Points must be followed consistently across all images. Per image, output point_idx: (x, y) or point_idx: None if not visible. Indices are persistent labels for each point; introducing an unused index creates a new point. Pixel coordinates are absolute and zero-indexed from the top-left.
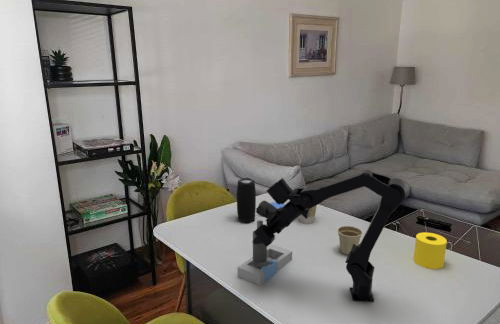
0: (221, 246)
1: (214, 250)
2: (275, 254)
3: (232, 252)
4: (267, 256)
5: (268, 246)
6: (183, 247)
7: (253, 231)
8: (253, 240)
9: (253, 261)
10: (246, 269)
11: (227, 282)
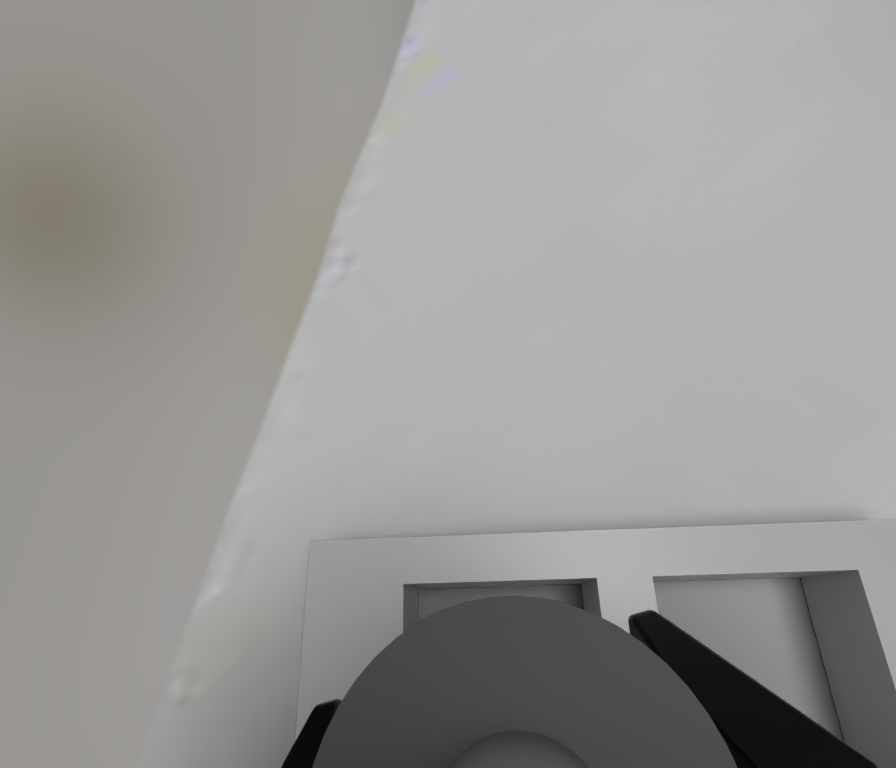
0: (609, 173)
1: (530, 179)
2: (854, 658)
3: (602, 280)
4: (770, 576)
5: (881, 525)
6: (427, 44)
7: (459, 613)
8: (285, 765)
9: (522, 581)
10: (320, 649)
11: (221, 545)
